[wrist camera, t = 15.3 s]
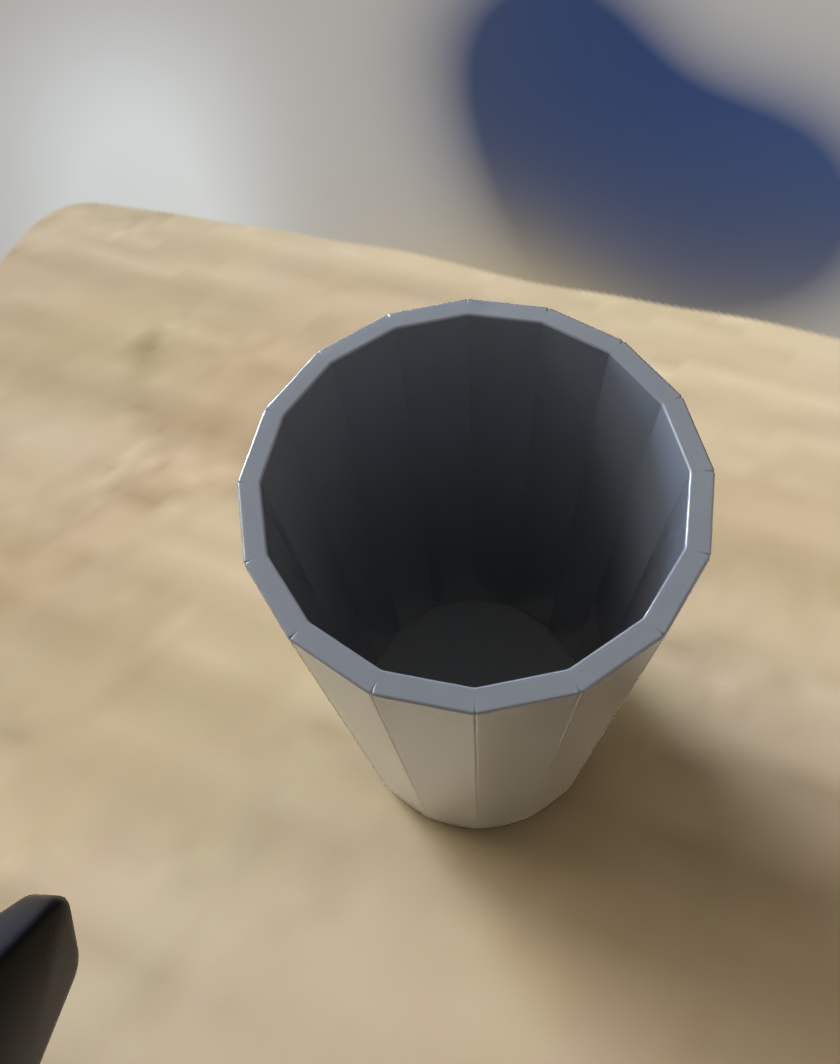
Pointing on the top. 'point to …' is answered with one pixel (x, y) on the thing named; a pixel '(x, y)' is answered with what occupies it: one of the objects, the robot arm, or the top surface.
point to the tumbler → (476, 543)
